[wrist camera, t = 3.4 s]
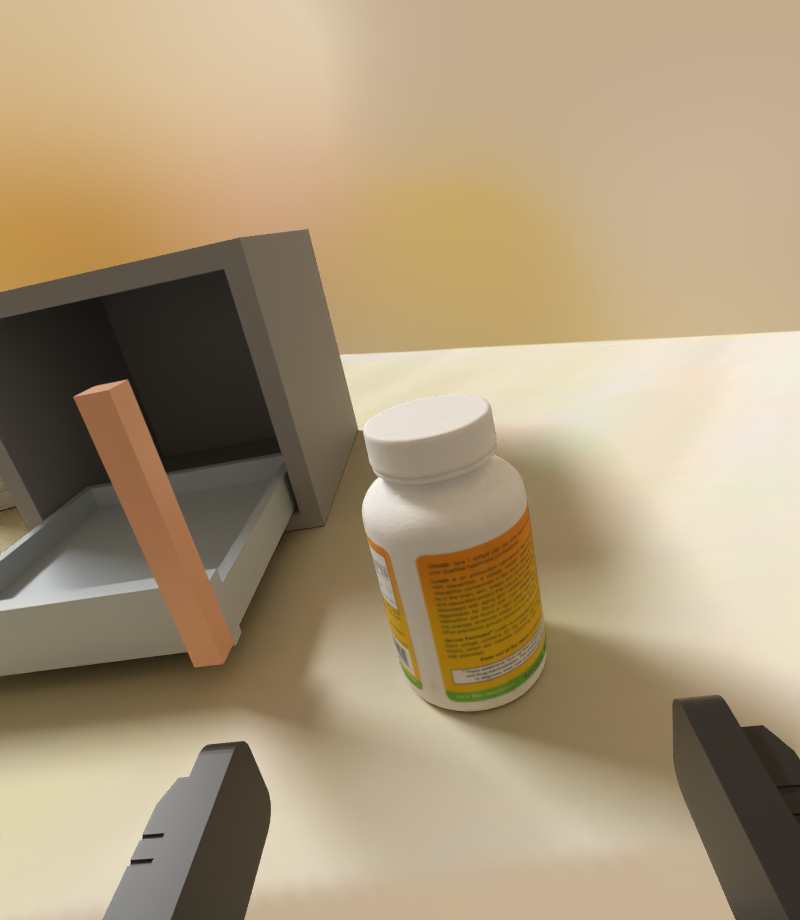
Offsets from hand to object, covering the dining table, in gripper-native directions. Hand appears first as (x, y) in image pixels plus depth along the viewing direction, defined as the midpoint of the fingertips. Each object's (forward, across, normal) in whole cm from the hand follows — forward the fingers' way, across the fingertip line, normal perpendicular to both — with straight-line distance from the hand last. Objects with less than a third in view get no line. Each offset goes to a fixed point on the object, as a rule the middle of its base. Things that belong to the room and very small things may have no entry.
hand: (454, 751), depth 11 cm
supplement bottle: (+9, 0, +6) cm, 11 cm away
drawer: (+17, +17, +5) cm, 24 cm away
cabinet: (+29, +17, +6) cm, 34 cm away
